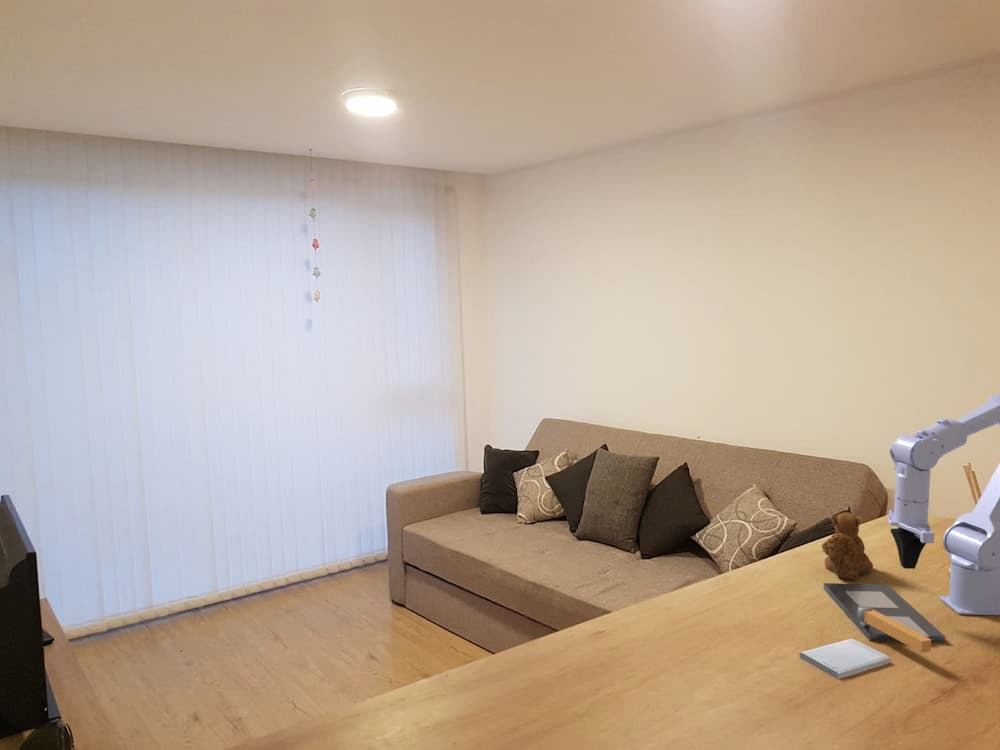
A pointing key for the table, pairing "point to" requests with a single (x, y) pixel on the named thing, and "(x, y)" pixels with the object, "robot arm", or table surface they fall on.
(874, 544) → the table surface
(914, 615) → the psu panel
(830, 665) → the hard drive
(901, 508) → the robot arm
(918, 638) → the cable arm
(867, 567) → the stuffed squirrel
